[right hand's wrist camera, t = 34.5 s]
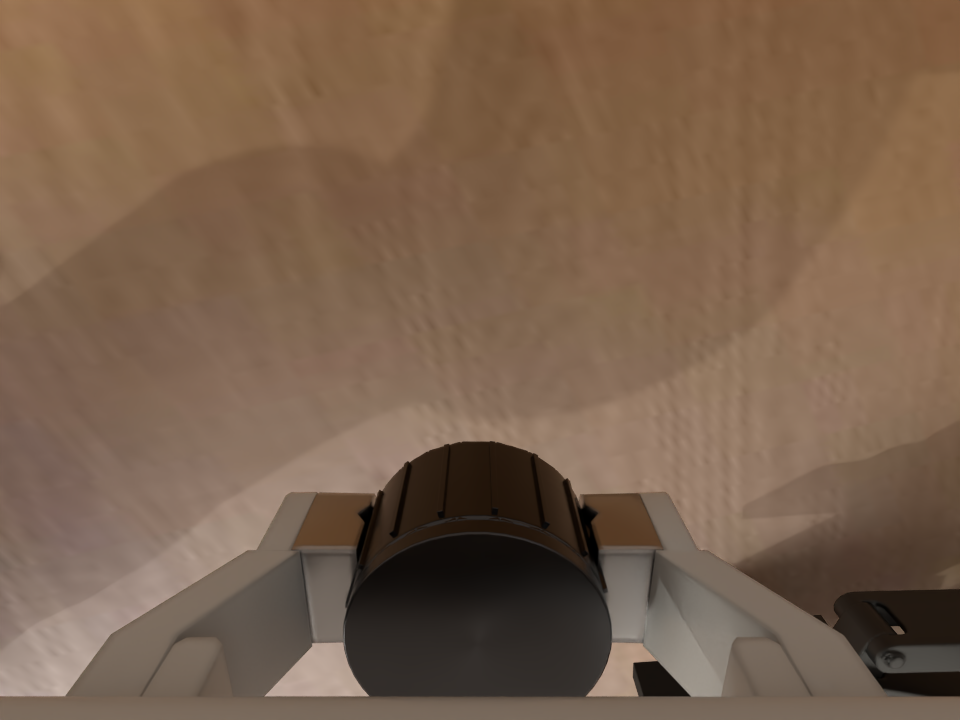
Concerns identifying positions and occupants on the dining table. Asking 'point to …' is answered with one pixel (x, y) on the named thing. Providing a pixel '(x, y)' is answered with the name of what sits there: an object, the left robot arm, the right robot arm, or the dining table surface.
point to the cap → (477, 582)
